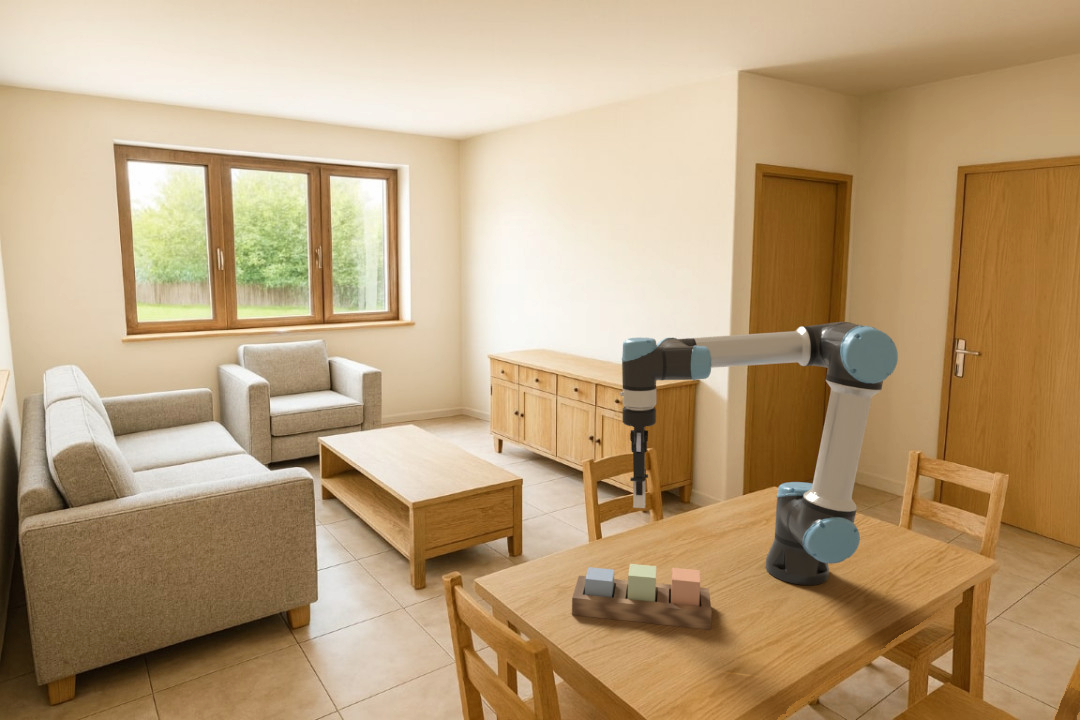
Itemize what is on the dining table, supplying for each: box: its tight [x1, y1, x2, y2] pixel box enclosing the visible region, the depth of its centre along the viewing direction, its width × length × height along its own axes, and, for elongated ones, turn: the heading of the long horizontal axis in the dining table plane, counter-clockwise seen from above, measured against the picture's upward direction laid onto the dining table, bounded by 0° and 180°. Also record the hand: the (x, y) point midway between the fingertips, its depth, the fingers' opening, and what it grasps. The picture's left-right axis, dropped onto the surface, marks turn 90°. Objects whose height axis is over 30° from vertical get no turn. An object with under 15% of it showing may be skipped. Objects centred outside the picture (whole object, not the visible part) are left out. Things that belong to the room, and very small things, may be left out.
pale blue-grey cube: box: [585, 566, 615, 598], centre depth 159 cm, size 6×6×7 cm
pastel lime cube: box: [627, 563, 657, 602], centre depth 157 cm, size 6×6×7 cm
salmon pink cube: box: [670, 567, 701, 606], centre depth 155 cm, size 6×6×7 cm
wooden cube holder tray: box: [571, 575, 712, 631], centre depth 157 cm, size 30×11×4 cm, turn 79°
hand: (639, 506), depth 161 cm, fingers closed
